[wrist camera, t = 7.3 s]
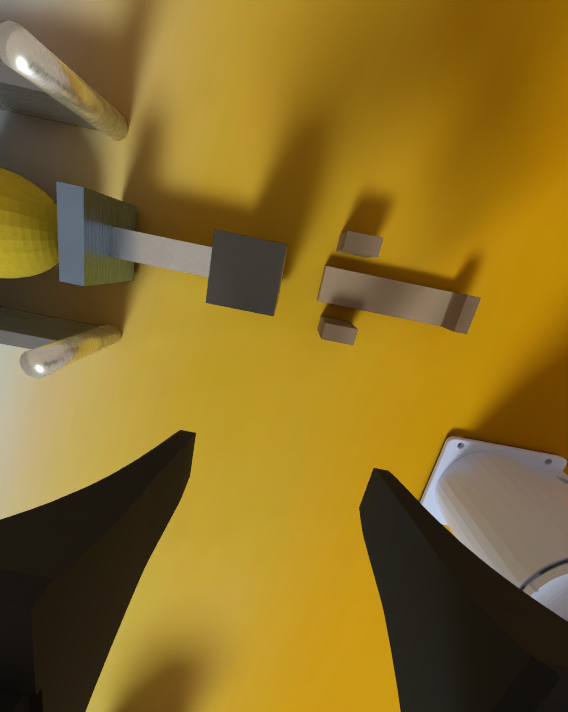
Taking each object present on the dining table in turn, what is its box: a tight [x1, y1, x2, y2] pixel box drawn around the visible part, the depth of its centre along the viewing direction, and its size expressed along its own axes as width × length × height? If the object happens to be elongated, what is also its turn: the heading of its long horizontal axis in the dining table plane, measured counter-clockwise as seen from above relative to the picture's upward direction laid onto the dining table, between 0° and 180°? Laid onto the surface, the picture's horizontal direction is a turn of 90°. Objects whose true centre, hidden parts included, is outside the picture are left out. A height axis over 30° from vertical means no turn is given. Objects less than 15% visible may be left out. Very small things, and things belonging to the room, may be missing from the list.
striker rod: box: [56, 181, 287, 316], centre depth 15 cm, size 11×4×7 cm, turn 79°
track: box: [317, 230, 481, 345], centre depth 18 cm, size 9×6×2 cm
